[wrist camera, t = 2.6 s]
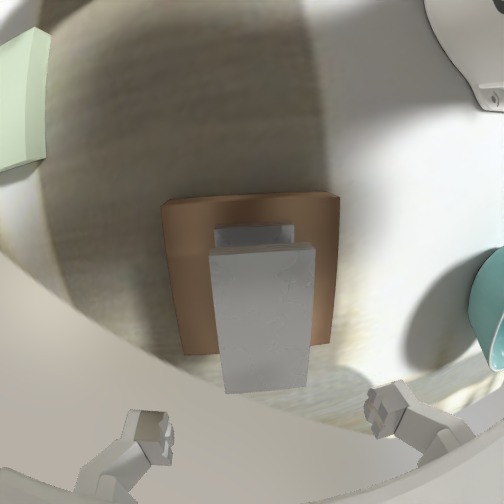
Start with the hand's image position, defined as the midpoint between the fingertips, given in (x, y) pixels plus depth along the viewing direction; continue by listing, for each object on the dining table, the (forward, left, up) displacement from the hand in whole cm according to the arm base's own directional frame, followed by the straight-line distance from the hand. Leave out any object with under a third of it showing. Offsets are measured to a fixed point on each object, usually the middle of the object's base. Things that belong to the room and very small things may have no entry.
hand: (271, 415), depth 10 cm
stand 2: (0, 0, -14) cm, 14 cm away
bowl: (-30, +5, -15) cm, 34 cm away
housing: (0, 0, -11) cm, 11 cm away
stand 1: (+23, -17, -14) cm, 32 cm away
